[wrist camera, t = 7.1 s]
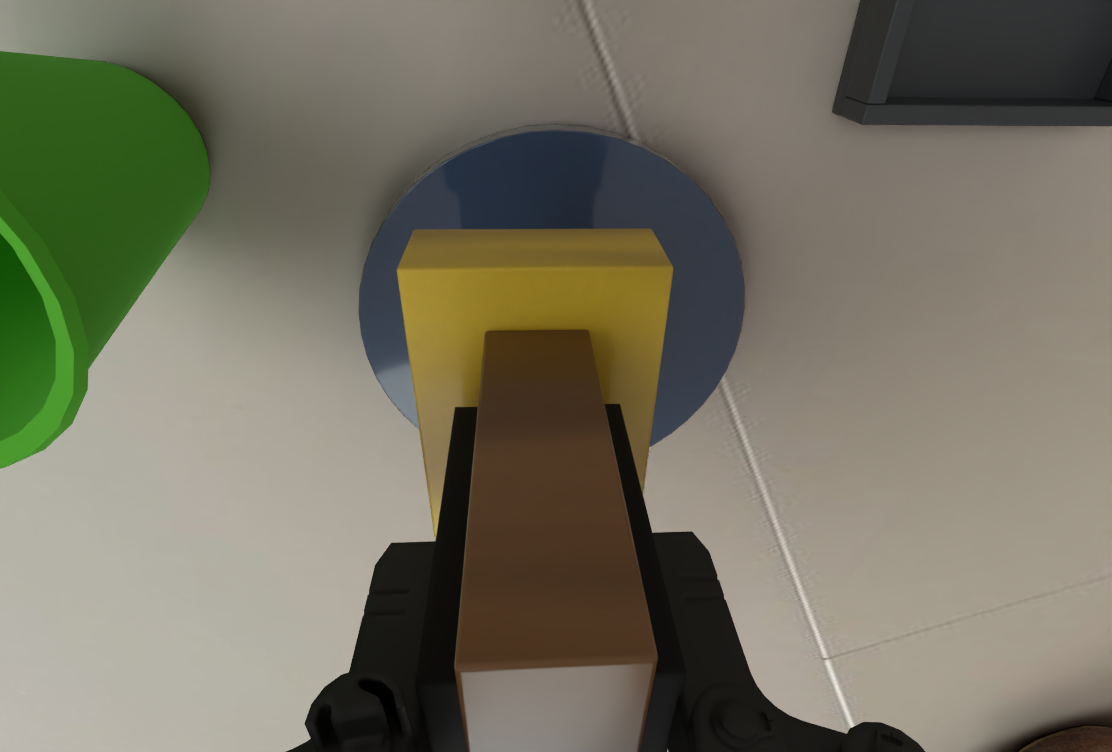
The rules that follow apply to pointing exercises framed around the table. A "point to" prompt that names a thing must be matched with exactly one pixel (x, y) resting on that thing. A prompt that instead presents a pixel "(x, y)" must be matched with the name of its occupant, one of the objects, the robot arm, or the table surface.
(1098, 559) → the table surface
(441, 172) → the plate
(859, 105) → the dish
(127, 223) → the cup
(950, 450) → the table surface
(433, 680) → the robot arm
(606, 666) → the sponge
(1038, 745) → the bowl
